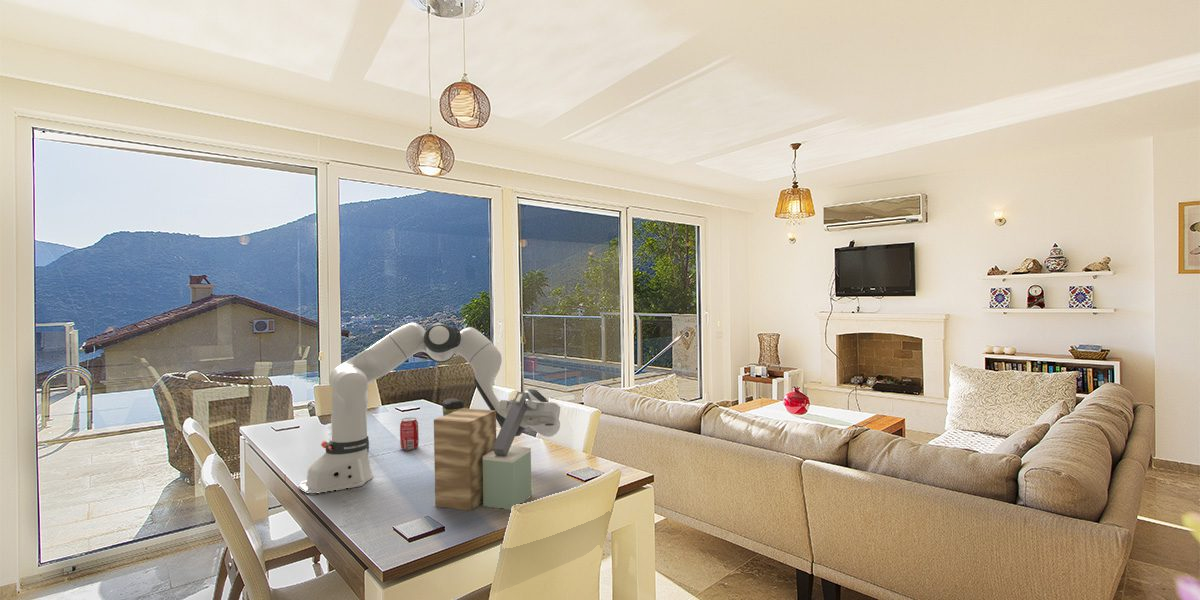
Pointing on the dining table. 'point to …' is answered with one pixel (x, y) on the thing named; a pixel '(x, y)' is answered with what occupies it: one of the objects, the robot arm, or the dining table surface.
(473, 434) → the oak stand
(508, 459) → the block
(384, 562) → the dining table surface
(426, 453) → the dining table surface
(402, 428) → the soda can
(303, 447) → the dining table surface
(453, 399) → the coffee jar
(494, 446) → the grey bar with knob
